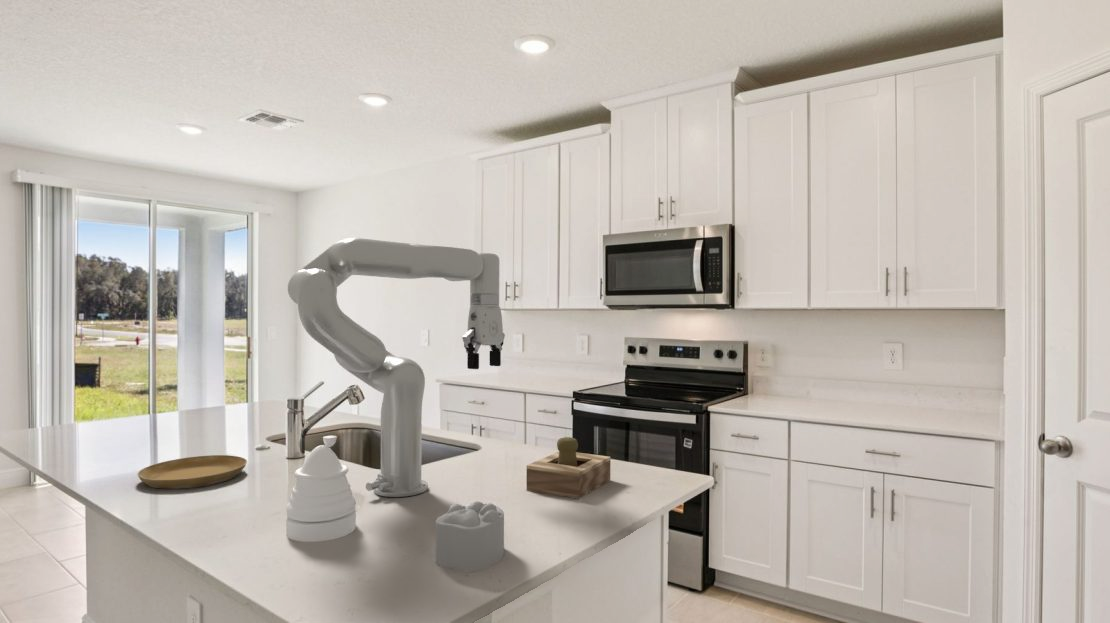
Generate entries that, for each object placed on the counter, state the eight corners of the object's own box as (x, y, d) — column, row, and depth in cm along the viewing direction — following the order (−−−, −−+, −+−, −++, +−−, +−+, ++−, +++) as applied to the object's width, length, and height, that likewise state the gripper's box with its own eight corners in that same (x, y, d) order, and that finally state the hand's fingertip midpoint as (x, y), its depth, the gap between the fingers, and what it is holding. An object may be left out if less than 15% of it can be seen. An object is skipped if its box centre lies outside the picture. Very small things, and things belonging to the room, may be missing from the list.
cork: (580, 479, 159) (580, 435, 159) (578, 486, 153) (579, 440, 153) (556, 478, 160) (556, 435, 159) (553, 485, 154) (554, 440, 153)
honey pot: (326, 515, 134) (326, 429, 133) (369, 526, 127) (369, 436, 127) (271, 533, 123) (271, 440, 122) (316, 546, 116) (316, 448, 116)
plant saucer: (123, 496, 146) (123, 482, 146) (153, 470, 169) (153, 458, 169) (239, 487, 154) (239, 474, 154) (252, 464, 177) (252, 452, 177)
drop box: (578, 498, 146) (578, 472, 146) (526, 490, 152) (526, 465, 152) (610, 480, 161) (610, 456, 161) (561, 473, 168) (562, 450, 168)
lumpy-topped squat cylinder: (427, 563, 109) (427, 513, 109) (469, 538, 121) (469, 493, 121) (478, 574, 104) (478, 522, 104) (517, 548, 116) (517, 500, 116)
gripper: (476, 301, 155) (476, 371, 155) (514, 301, 170) (514, 365, 170) (452, 301, 158) (452, 369, 158) (491, 301, 173) (491, 364, 174)
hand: (484, 367), depth 164 cm, fingers open, 9 cm apart
